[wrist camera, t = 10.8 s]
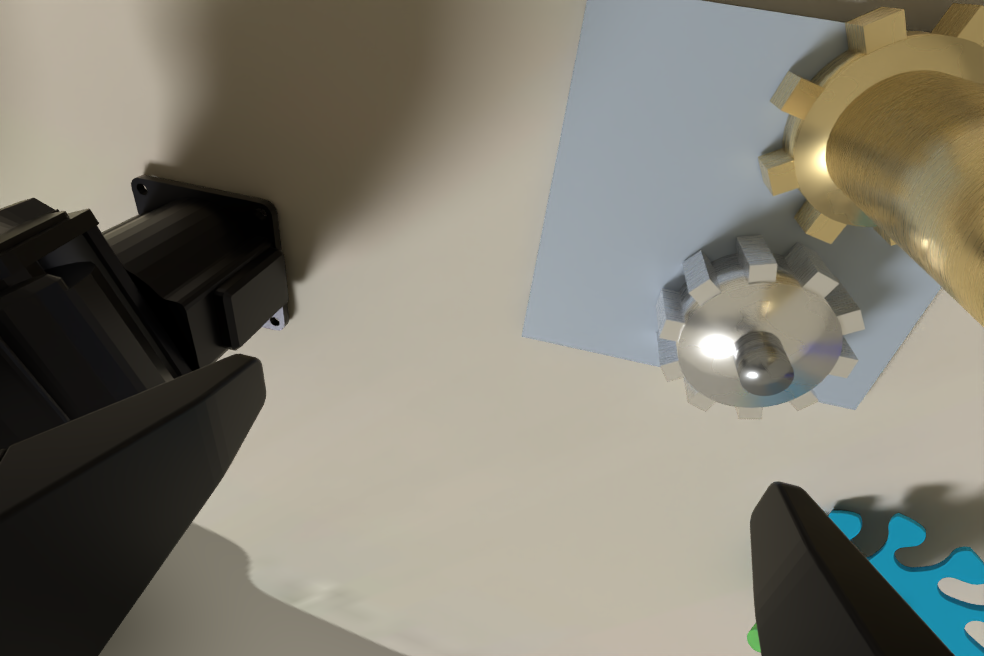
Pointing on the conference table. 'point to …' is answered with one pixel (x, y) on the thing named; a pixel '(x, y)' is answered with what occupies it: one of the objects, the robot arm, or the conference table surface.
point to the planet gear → (894, 143)
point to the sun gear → (756, 328)
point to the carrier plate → (692, 180)
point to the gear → (921, 582)
